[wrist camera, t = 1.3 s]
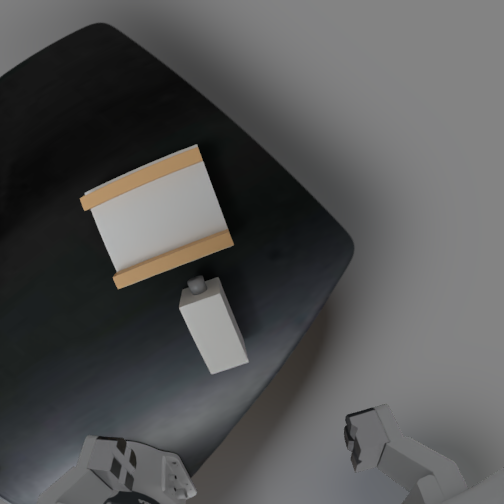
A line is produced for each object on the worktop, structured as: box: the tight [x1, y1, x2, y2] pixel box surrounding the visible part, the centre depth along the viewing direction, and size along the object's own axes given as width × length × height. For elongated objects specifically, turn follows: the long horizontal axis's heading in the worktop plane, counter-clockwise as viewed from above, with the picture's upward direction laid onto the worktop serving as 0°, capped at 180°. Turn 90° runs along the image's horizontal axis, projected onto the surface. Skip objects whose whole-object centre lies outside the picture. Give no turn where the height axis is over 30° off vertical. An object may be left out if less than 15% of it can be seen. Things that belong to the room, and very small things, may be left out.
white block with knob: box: [179, 276, 249, 374], centre depth 39 cm, size 12×5×6 cm, turn 19°
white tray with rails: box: [80, 144, 234, 289], centre depth 35 cm, size 12×14×6 cm
